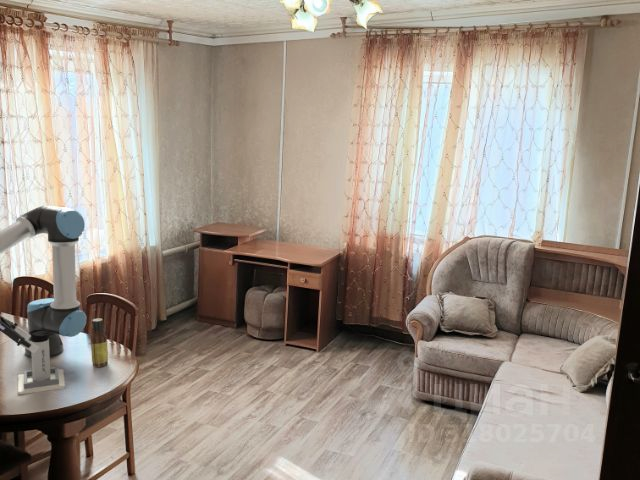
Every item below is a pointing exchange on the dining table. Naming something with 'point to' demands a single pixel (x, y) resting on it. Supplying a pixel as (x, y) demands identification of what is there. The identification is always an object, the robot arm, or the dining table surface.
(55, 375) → the mug tray
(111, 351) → the dining table surface
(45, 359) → the travel mug
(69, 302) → the robot arm
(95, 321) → the sauce bottle
